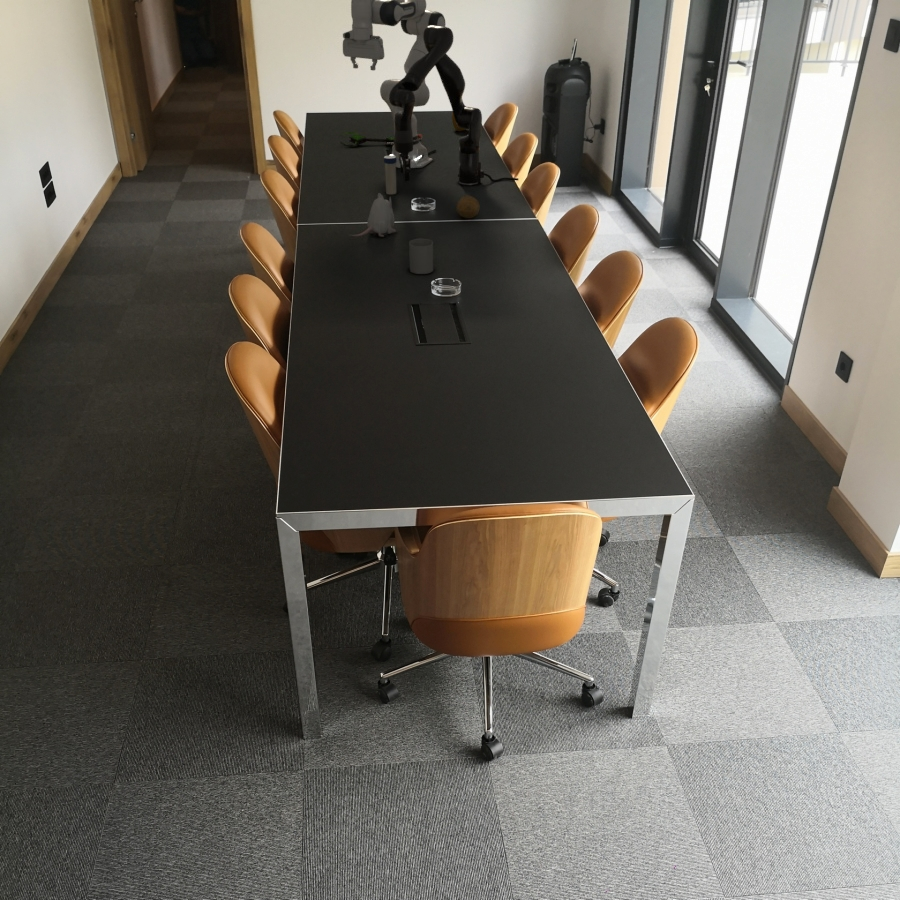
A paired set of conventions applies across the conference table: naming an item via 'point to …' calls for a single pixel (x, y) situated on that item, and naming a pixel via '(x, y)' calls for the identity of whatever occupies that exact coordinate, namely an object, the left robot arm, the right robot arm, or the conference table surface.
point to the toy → (380, 217)
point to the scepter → (363, 139)
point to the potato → (467, 207)
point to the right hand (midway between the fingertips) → (405, 176)
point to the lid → (390, 159)
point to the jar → (390, 178)
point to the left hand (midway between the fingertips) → (364, 69)
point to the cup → (421, 256)
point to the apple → (456, 124)
